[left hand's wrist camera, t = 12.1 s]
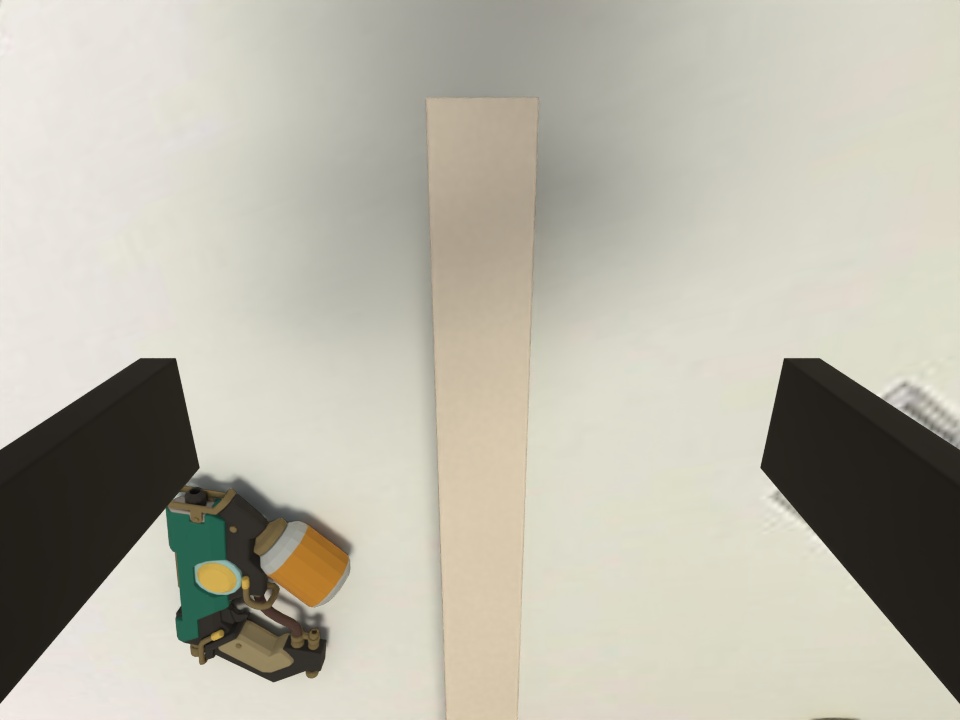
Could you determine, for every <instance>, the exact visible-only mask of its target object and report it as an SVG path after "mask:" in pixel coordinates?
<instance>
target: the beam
mask: <svg viewBox="0 0 960 720" xmlns="http://www.w3.org/2000/svg"><path fill="white" fill-rule="evenodd" d="M538 111H539V98H537V97H427V98H426V129H427V159H428V188H429V218H430V248H431V278H432V308H433V338H434V367H435V397H436V427H437V457H438V487H439V517H440V547H441V576H442V606H443V636H444V666H445V696H446V720H517V719H518V690H519V661H520V632H521V603H522V575H523V546H524V517H525V488H526V459H527V430H528V401H529V372H530V343H531V314H532V285H533V256H534V227H535V198H536V169H537V140H538Z"/></svg>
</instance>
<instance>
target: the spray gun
mask: <svg viewBox="0 0 960 720" xmlns="http://www.w3.org/2000/svg"><path fill="white" fill-rule="evenodd" d="M180 492H186V494H185V497H183V496H182V497H178V498H175V499H173V500H172V501H171V502H170V503H169V505H168V506H167V507H166V516H167V527H168V538H169V546H170V548H171V550H172V551H173V552H175V558H176V568H177V578H178V586H179V588H180V597H181V607H180V608H179V610H178V611H177V613H176V630H177V637H178V639H179V640H180V641H182V642H184V643H188V644H191V645H190V648H191V655H192V656H194V657H199V663H200V665H203V664H205V663H206V662H207V660H208V659H211V658H214V657H215V655H217V656H220V657H222V658H224V659H226V660H228V661H230V662H232V663H234V664H236V665H238V666H240V667H243V668H245V669H247V670H249V671H251V672H253V673H255V674H257V675H259V676H261V677H263V678H266V679H268V680H270V681H272V682H276V681H279V680H282V679H285V678H287V677H290V676H293V675H296V674H298V673H301V672H304V671H306V676H307V677H308V678H315V677H316V676H317V675H318V672H319V671H321V668H322V666H323V663H324V660H325V653H326V640H324V639H320V632H319V630H318V629H316V628H313V629H311V630H310V632H309V633H305V632H304V629H303V628H302V627H301V625H300V624H299V623H298V622H297V621H296V620H294V619H293V618H291V617H289V616H286V615H284V614H282V613H281V612H279V611H277V610H276V609H274V608H273V607H272V605H273V603H274V602H275V600H276V599H277V596H278V593H279V590H280V588H279V586H278V585H276V584H275V583H271V582H267V575H268V576H269V577H270V578H272V579H273V580H274V581H276V582H277V583H278V584H280V585H281V586H282V587H283V588H285V589H286V590H287V591H289V592H290V593H291V594H293V595H294V596H295V597H297V598H298V599H299V600H301V601H302V602H303V603H305V604H306V605H307V606H309V607H317V606H320V605H323V604H325V603H327V602H329V601H330V600H331V599H332V598H333V597H334V596H335V595H336V594H337V592H338V591H339V590H340V589H341V587H342V585H343V584H344V582H345V581H346V579H347V577H348V575H349V572H350V559H349V556H348V555H347V554H346V553H345V552H343V551H342V550H341V549H339V548H338V547H337V546H335V545H334V544H333V543H331V542H330V541H329V540H327V539H326V538H325V537H323V536H322V535H321V534H319V533H318V532H317V531H315V530H314V529H313V528H311V527H310V526H309V525H307V524H305V523H303V522H300V521H294V522H289V523H287V522H286V520H284V519H283V518H278V519H277V520H275V521H273V522H268V521H267V519H266V518H265V517H264V516H263V515H262V514H260V513H259V512H258V511H257V510H256V509H255V508H253V507H252V506H251V505H250V504H249V503H248V502H246V501H245V500H244V499H243V498H242V497H241V496H239V495H238V494H236V491H234V490H233V489H232V488H231V489H229V490H228V491H227V492H225V493H224V492H218V491H212V490H206V489H201V488H199V487H188V486H184V487H183V488H182V489H181V490H180ZM214 497H217V498H223V499H222V500H221V499H217V500H216V501H215V502H214ZM254 538H256V543H255V546H254ZM259 555H260V556H259ZM267 589H272V590H273V592H272V594H271V596H270V598H269V600H268V601H266V599H265V597H264V594H265V592H266V590H267ZM250 595H253V596H254V599H255V601H254V600H252V599H251V598H250ZM240 597H243V598H244V602H245V603H246V604H247V605H248V606H250V607H252V608H254V609H259V610H261V611H262V612H263V613H264V614H265V615H266V616H268V617H269V618H271V619H273V620H274V621H276V622H278V623H280V624H282V625H284V626H286V627H288V628H289V629H291V630H292V632H291V634H289V633H286V634H283V635H282V636H279V637H278V636H276V635H274V634H272V633H271V632H269V631H267V630H266V629H264V628H262V627H260V626H259V625H257V624H255V623H254V622H252V621H249V620H247V617H248V615H249V612H248V611H244V612H242V611H239V610H237V609H236V608H235V607H233V605H232V604H231V602H232V600H233V599H237V598H240ZM204 653H205V654H204Z"/></svg>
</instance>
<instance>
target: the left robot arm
mask: <svg viewBox="0 0 960 720" xmlns="http://www.w3.org/2000/svg"><path fill="white" fill-rule="evenodd" d="M199 468H200V467H199V463H198V458H197V454H196V449H195V444H194V440H193V435H192V430H191V426H190V421H189V417H188V412H187V407H186V403H185V398H184V393H183V389H182V384H181V380H180V375H179V370H178V366H177V361H176V358H140V359H139V360H137V361H136V362H134V363H132V364H131V365H129V366H128V367H126V368H125V369H123V370H122V371H120V372H119V373H117V374H116V375H114V376H113V377H111V378H110V379H108V380H106V381H105V382H103V383H102V384H100V385H99V386H97V387H96V388H94V389H93V390H91V391H90V392H88V393H87V394H85V395H84V396H82V397H80V398H79V399H77V400H76V401H74V402H73V403H71V404H70V405H68V406H67V407H65V408H64V409H62V410H61V411H59V412H58V413H56V414H54V415H53V416H51V417H50V418H48V419H47V420H45V421H44V422H42V423H41V424H39V425H38V426H36V427H35V428H33V429H32V430H30V431H28V432H27V433H25V434H24V435H22V436H21V437H19V438H18V439H16V440H15V441H13V442H12V443H10V444H9V445H7V446H6V447H4V448H3V449H1V450H0V703H1V702H2V701H3V700H4V699H5V697H6V696H7V695H8V694H9V693H10V692H11V690H12V689H13V688H14V687H15V686H16V684H17V683H18V682H19V681H20V680H21V678H22V677H23V676H24V675H25V674H26V673H27V671H28V670H29V669H30V668H31V667H32V665H33V664H34V663H35V662H36V661H37V660H38V658H39V657H40V656H41V655H42V654H43V652H44V651H45V650H46V649H47V648H48V647H49V645H50V644H51V643H52V642H53V641H54V639H55V638H56V637H57V636H58V635H59V634H60V632H61V631H62V630H63V629H64V628H65V626H66V625H67V624H68V623H69V622H70V621H71V619H72V618H73V617H74V616H75V615H76V613H77V612H78V611H79V610H80V609H81V608H82V606H83V605H84V604H85V603H86V602H87V600H88V599H89V598H90V597H91V596H92V595H93V593H94V592H95V591H96V590H97V589H98V587H99V586H100V585H101V584H102V583H103V581H104V580H105V579H106V578H107V577H108V576H109V574H110V573H111V572H112V571H113V570H114V568H115V567H116V566H117V565H118V564H119V563H120V561H121V560H122V559H123V558H124V557H125V555H126V554H127V553H128V552H129V551H130V550H131V548H132V547H133V546H134V545H135V544H136V542H137V541H138V540H139V539H140V538H141V537H142V535H143V534H144V533H145V532H146V531H147V529H148V528H149V527H150V526H151V525H152V524H153V522H154V521H155V520H156V519H157V518H158V516H159V515H160V514H161V513H162V512H163V511H164V509H165V508H166V507H167V506H168V505H169V503H170V502H171V501H172V500H173V499H174V498H175V496H176V495H177V494H178V493H179V492H180V490H181V489H182V488H183V487H184V486H185V485H186V483H187V482H188V481H189V480H190V479H191V477H192V476H193V475H194V474H195V473H196V471H197V470H198V469H199ZM760 468H761V469H762V470H763V471H764V473H765V474H766V475H767V476H768V477H769V479H770V480H771V481H772V482H773V483H774V485H775V486H776V487H777V488H778V489H779V490H780V492H781V493H782V494H783V495H784V496H785V498H786V499H787V500H788V501H789V502H790V503H791V505H792V506H793V507H794V508H795V509H796V511H797V512H798V513H799V514H800V515H801V516H802V518H803V519H804V520H805V521H806V522H807V524H808V525H809V526H810V527H811V528H812V529H813V531H814V532H815V533H816V534H817V535H818V537H819V538H820V539H821V540H822V541H823V542H824V544H825V545H826V546H827V547H828V548H829V550H830V551H831V552H832V553H833V554H834V555H835V557H836V558H837V559H838V560H839V561H840V563H841V564H842V565H843V566H844V567H845V568H846V570H847V571H848V572H849V573H850V574H851V576H852V577H853V578H854V579H855V580H856V581H857V583H858V584H859V585H860V586H861V587H862V589H863V590H864V591H865V592H866V593H867V595H868V596H869V597H870V598H871V599H872V600H873V602H874V603H875V604H876V605H877V606H878V608H879V609H880V610H881V611H882V612H883V613H884V615H885V616H886V617H887V618H888V619H889V621H890V622H891V623H892V624H893V625H894V626H895V628H896V629H897V630H898V631H899V632H900V634H901V635H902V636H903V637H904V638H905V639H906V641H907V642H908V643H909V644H910V645H911V647H912V648H913V649H914V650H915V651H916V652H917V654H918V655H919V656H920V657H921V658H922V660H923V661H924V662H925V663H926V664H927V665H928V667H929V668H930V669H931V670H932V671H933V673H934V674H935V675H936V676H937V677H938V678H939V680H940V681H941V682H942V683H943V684H944V686H945V687H946V688H947V689H948V690H949V692H950V693H951V694H952V695H953V696H954V697H955V699H956V700H957V701H958V702H959V703H960V450H959V449H957V448H956V447H954V446H953V445H951V444H950V443H948V442H947V441H945V440H944V439H942V438H941V437H939V436H938V435H936V434H935V433H933V432H932V431H930V430H928V429H927V428H925V427H924V426H922V425H921V424H919V423H918V422H916V421H915V420H913V419H912V418H910V417H909V416H907V415H906V414H904V413H902V412H901V411H899V410H898V409H896V408H895V407H893V406H892V405H890V404H889V403H887V402H886V401H884V400H883V399H881V398H880V397H878V396H876V395H875V394H873V393H872V392H870V391H869V390H867V389H866V388H864V387H863V386H861V385H860V384H858V383H857V382H855V381H854V380H852V379H850V378H849V377H847V376H846V375H844V374H843V373H841V372H840V371H838V370H837V369H835V368H834V367H832V366H831V365H829V364H828V363H826V362H824V361H823V360H821V359H820V358H784V361H783V366H782V370H781V375H780V380H779V384H778V389H777V393H776V398H775V403H774V407H773V412H772V417H771V421H770V426H769V430H768V435H767V440H766V444H765V449H764V454H763V458H762V463H761V467H760Z"/></svg>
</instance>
